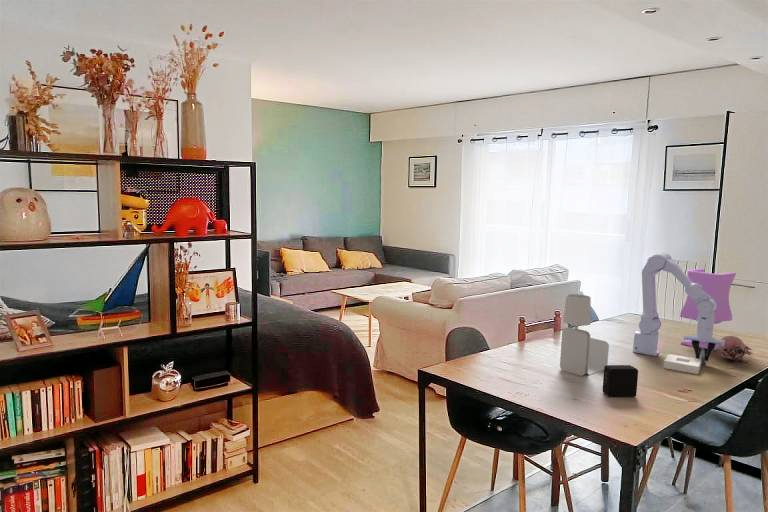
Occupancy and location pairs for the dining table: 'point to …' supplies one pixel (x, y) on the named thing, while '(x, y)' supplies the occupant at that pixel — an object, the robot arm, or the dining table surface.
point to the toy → (733, 348)
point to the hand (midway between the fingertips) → (702, 359)
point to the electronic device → (620, 381)
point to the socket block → (682, 363)
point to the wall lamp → (581, 339)
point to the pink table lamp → (717, 290)
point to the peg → (702, 355)
